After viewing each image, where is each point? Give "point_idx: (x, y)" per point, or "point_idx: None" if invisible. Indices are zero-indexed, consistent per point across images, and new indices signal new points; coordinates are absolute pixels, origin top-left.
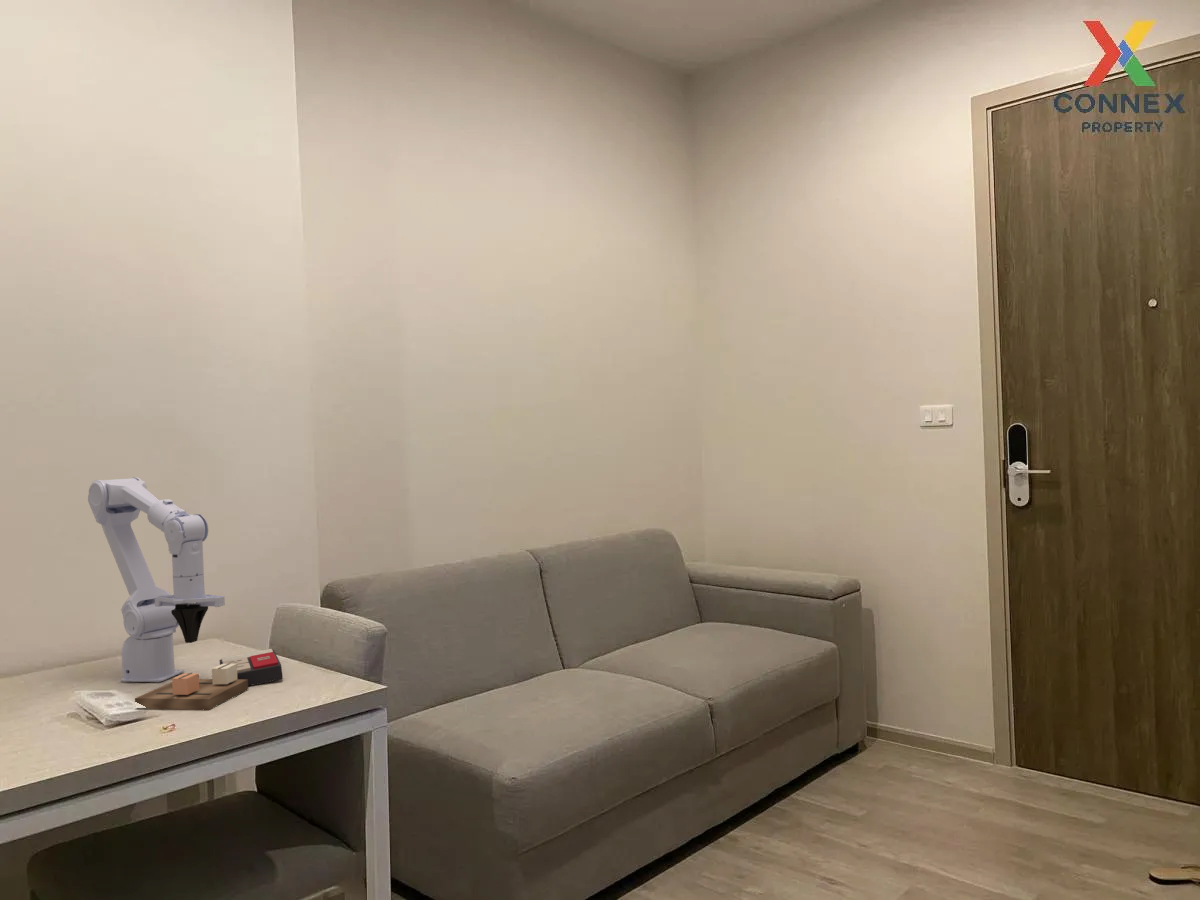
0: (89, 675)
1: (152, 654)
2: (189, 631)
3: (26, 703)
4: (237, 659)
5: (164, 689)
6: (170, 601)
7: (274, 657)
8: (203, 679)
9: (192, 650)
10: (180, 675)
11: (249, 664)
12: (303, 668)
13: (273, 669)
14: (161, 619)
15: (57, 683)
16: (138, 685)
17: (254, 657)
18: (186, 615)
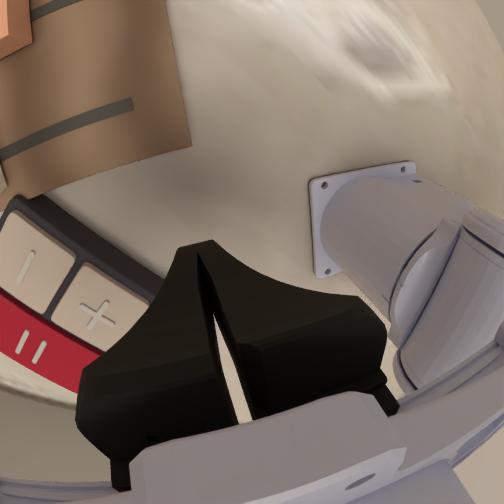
0: (479, 196)
1: (384, 215)
2: (173, 274)
3: (463, 7)
4: (112, 330)
5: (127, 25)
6: (457, 401)
7: (16, 359)
8: (89, 170)
9: (391, 368)
10: (2, 10)
11: (19, 299)
12: (46, 381)
13: None
14: (449, 323)
15: (495, 140)
16: (352, 144)
17: (75, 353)
18: (168, 343)
